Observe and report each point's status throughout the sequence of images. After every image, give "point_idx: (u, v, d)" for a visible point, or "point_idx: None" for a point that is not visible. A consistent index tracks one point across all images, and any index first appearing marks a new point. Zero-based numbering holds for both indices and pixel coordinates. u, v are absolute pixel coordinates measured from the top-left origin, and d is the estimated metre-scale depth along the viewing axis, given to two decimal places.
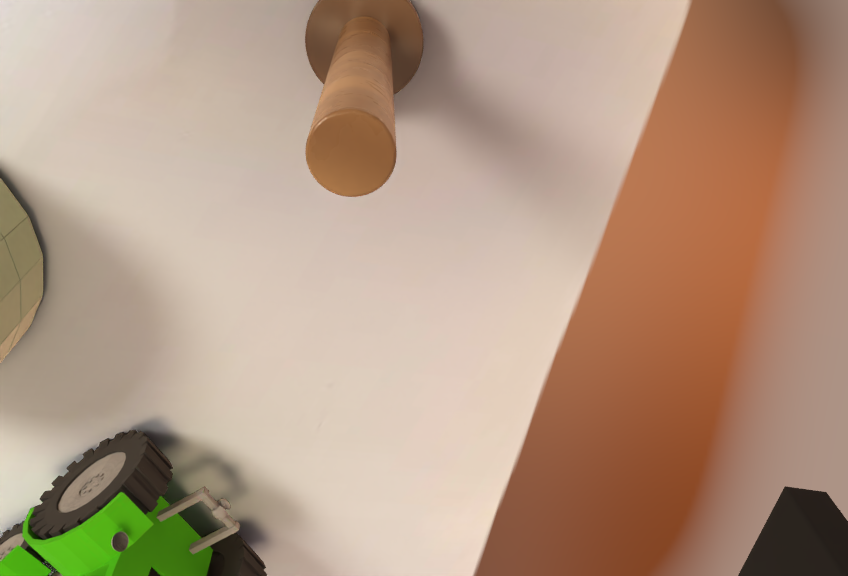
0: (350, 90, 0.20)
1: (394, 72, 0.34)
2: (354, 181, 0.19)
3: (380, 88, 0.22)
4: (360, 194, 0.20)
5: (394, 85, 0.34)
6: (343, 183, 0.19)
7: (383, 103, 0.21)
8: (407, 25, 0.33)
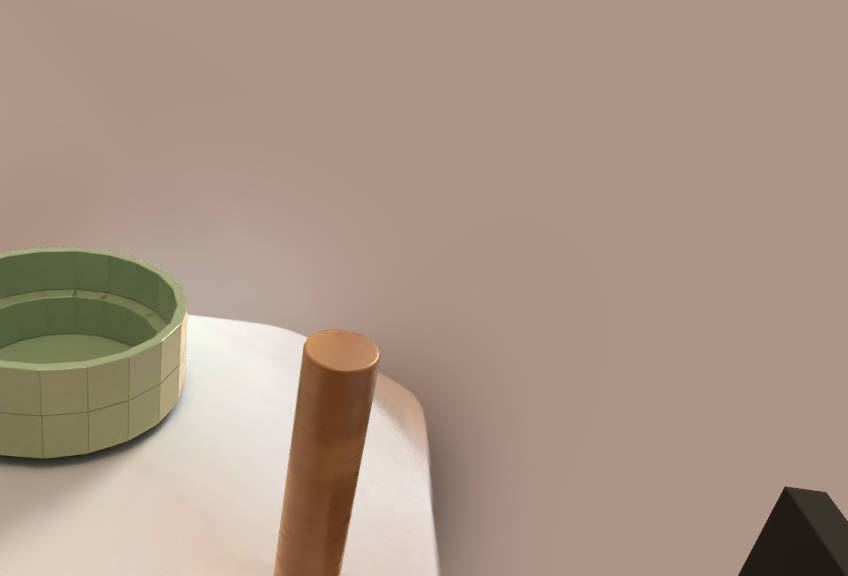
0: None
1: None
2: (319, 350, 0.22)
3: (359, 458, 0.24)
4: (308, 353, 0.22)
5: None
6: (316, 345, 0.22)
7: (363, 423, 0.23)
8: None
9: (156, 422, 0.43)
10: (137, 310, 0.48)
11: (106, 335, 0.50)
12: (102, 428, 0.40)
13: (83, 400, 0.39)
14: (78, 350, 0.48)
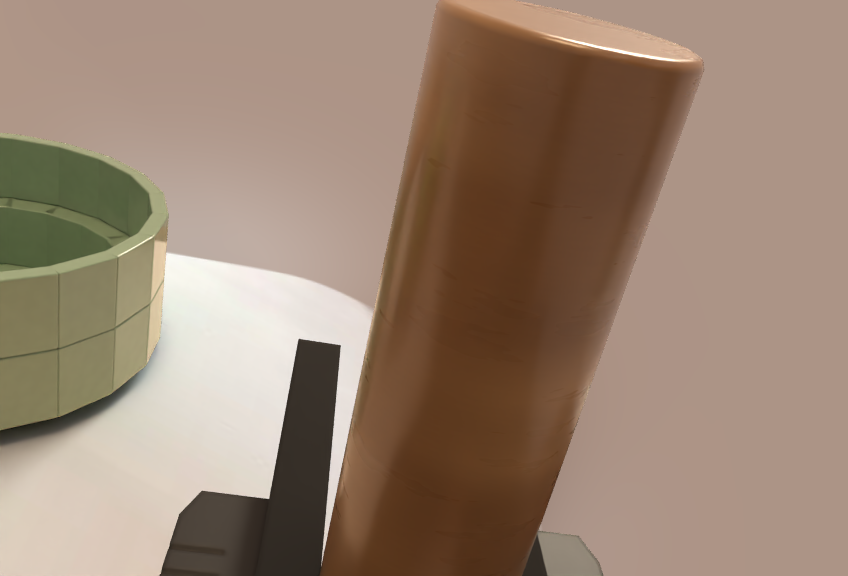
0: None
1: None
2: (496, 12, 0.06)
3: None
4: (461, 7, 0.06)
5: None
6: (480, 5, 0.06)
7: (618, 300, 0.07)
8: None
9: (108, 391, 0.28)
10: (98, 230, 0.33)
11: None
12: (12, 392, 0.25)
13: None
14: None
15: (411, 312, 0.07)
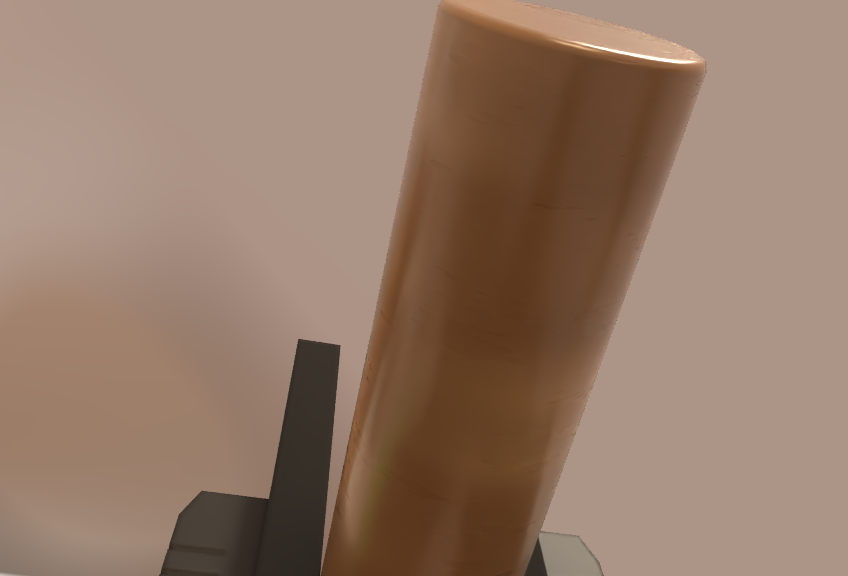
0: None
1: None
2: (498, 13, 0.06)
3: None
4: (462, 8, 0.06)
5: None
6: (481, 6, 0.06)
7: (620, 302, 0.07)
8: None
9: None
10: None
11: None
12: None
13: None
14: None
15: (412, 314, 0.07)
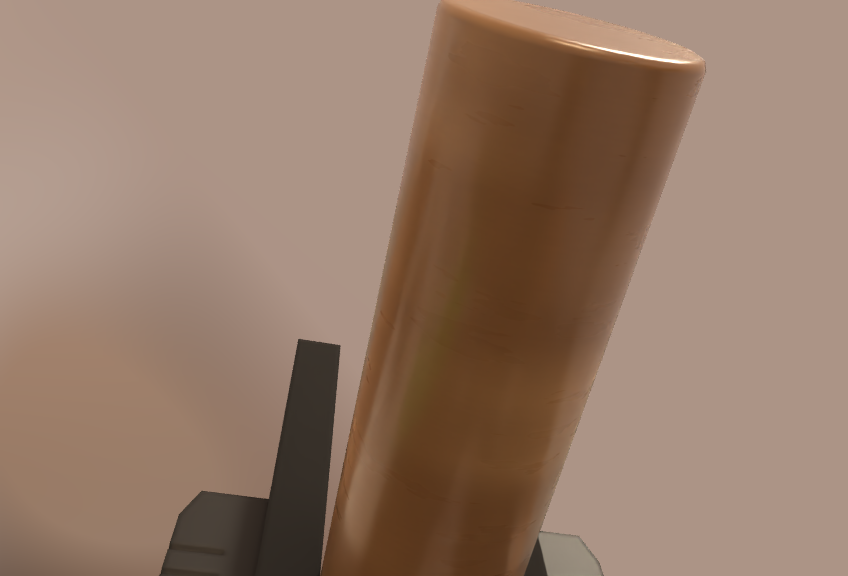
0: None
1: None
2: (498, 13, 0.06)
3: None
4: (462, 8, 0.06)
5: None
6: (481, 6, 0.06)
7: (620, 301, 0.07)
8: None
9: None
10: None
11: None
12: None
13: None
14: None
15: (412, 314, 0.07)
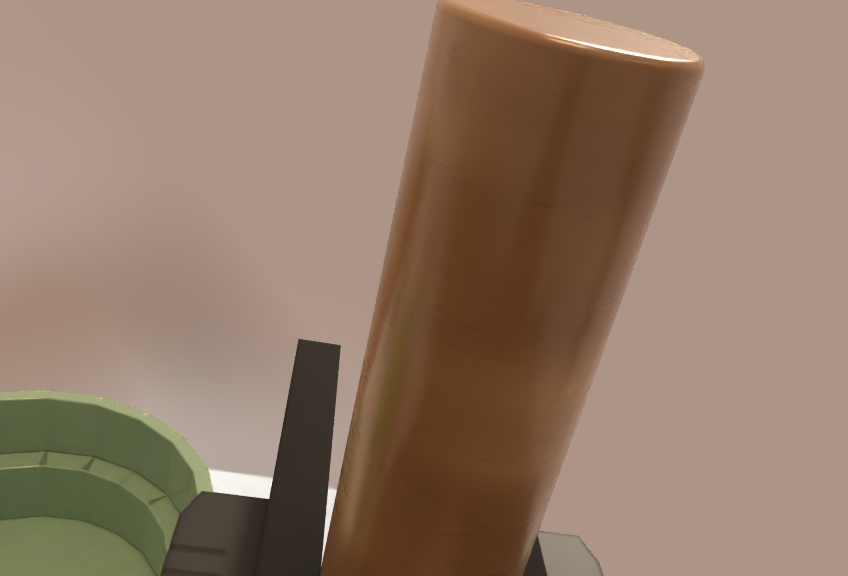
0: None
1: None
2: (497, 12, 0.06)
3: None
4: (461, 7, 0.06)
5: None
6: (480, 5, 0.06)
7: (618, 300, 0.07)
8: None
9: None
10: (137, 491, 0.32)
11: (89, 520, 0.33)
12: None
13: None
14: (44, 550, 0.31)
15: (411, 312, 0.07)
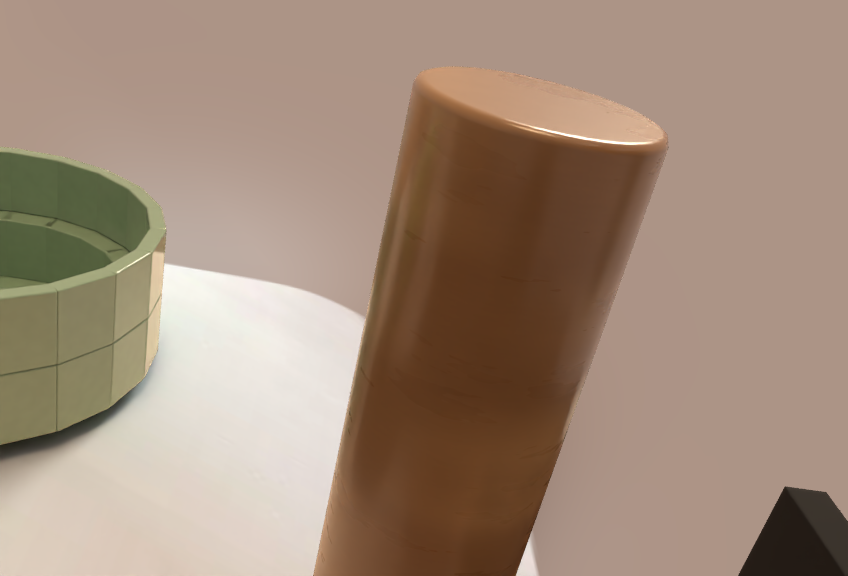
0: None
1: None
2: (470, 92, 0.06)
3: None
4: (435, 90, 0.06)
5: None
6: (455, 83, 0.07)
7: (589, 361, 0.07)
8: None
9: (106, 405, 0.28)
10: (97, 243, 0.33)
11: (52, 280, 0.34)
12: (11, 408, 0.25)
13: None
14: None
15: (390, 373, 0.07)
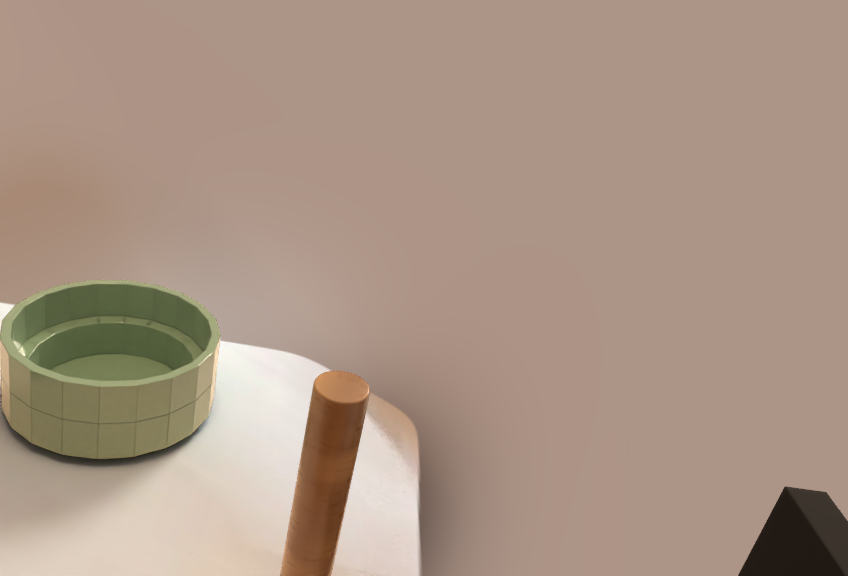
0: None
1: None
2: (325, 386, 0.30)
3: (351, 467, 0.32)
4: (316, 388, 0.30)
5: None
6: (322, 382, 0.30)
7: (356, 441, 0.31)
8: None
9: (190, 433, 0.52)
10: (177, 336, 0.57)
11: (148, 356, 0.58)
12: (146, 436, 0.49)
13: (133, 412, 0.47)
14: (125, 368, 0.57)
15: (309, 444, 0.31)
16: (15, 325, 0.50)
